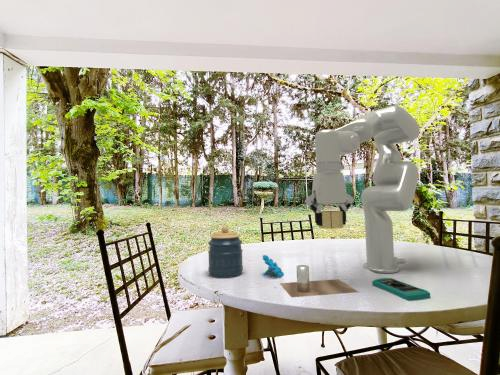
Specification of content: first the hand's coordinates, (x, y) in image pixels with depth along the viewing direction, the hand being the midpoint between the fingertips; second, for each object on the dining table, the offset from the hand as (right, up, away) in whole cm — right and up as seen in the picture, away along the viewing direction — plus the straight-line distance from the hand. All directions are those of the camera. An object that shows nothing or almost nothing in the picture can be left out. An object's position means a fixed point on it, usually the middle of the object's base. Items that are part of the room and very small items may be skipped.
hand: (330, 224), depth 90 cm
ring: (0, -1, 0) cm, 1 cm away
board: (-5, -19, -4) cm, 20 cm away
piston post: (-10, -19, -7) cm, 23 cm away
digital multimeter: (+17, -19, -9) cm, 27 cm away
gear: (-17, -20, +11) cm, 29 cm away
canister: (-35, -21, +16) cm, 44 cm away
